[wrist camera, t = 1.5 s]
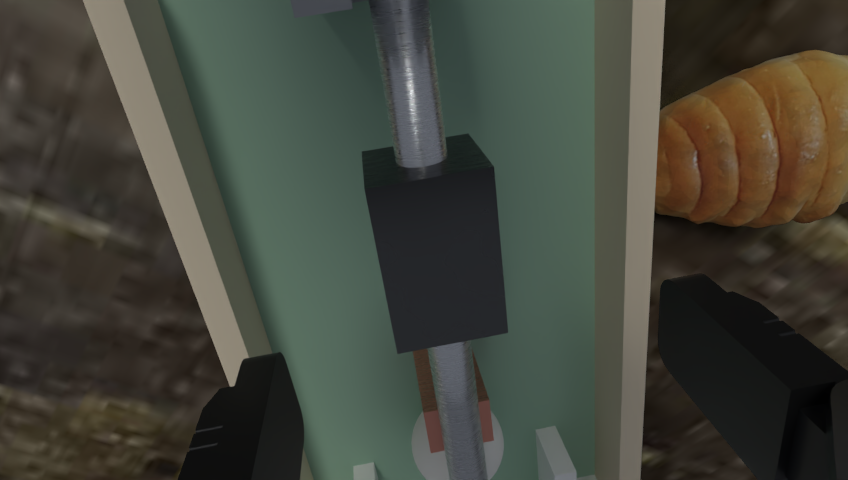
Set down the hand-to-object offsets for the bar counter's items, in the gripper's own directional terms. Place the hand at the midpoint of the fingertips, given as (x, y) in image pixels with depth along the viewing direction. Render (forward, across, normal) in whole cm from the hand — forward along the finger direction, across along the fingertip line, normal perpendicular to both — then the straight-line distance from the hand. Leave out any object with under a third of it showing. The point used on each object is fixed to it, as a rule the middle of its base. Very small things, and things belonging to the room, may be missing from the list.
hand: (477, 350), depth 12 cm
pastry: (+12, -14, +1) cm, 18 cm away
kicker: (+10, 0, 0) cm, 10 cm away
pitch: (+12, 0, +5) cm, 13 cm away
